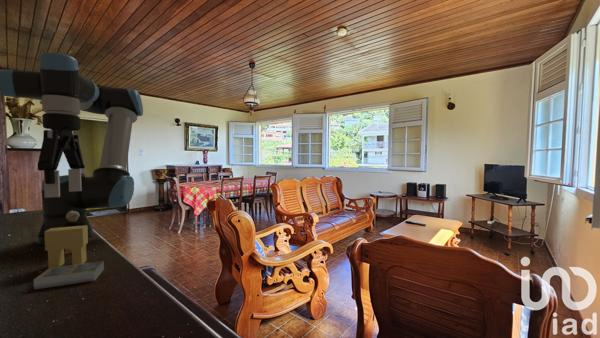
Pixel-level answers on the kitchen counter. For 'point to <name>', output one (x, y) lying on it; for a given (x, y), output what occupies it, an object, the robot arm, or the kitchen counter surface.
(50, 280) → the grey flat frame
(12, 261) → the kitchen counter surface
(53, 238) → the yellow notched block
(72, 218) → the grandmother figurine
